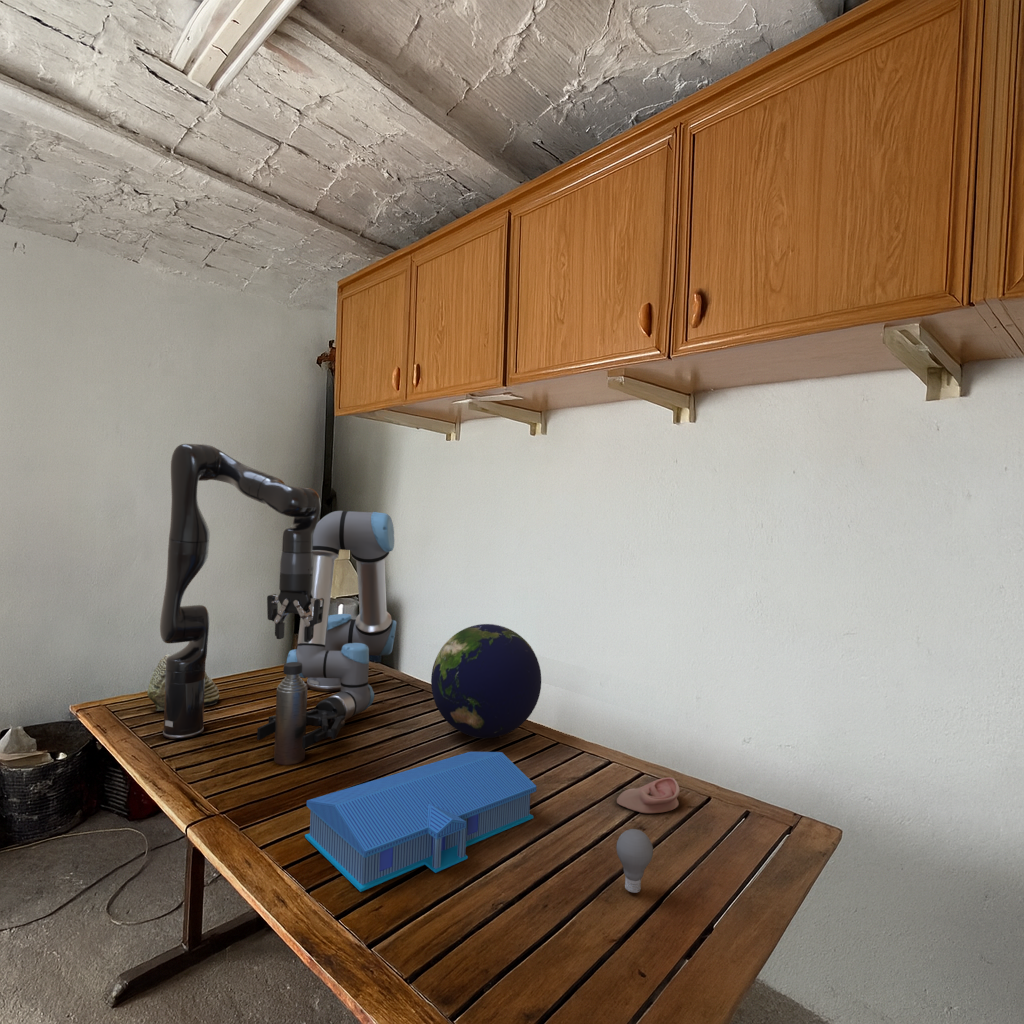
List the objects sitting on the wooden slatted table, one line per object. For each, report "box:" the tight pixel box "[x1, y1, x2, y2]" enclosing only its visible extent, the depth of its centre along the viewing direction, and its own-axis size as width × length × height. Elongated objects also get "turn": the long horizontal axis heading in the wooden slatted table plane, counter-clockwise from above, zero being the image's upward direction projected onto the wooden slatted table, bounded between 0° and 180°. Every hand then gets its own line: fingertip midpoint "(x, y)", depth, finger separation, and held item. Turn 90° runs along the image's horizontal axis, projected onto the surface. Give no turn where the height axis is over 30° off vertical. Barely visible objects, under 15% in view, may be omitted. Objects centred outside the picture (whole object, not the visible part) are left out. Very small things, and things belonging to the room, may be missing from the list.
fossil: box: [147, 654, 221, 712], centre depth 185 cm, size 9×18×15 cm, turn 132°
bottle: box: [273, 674, 308, 766], centre depth 152 cm, size 7×7×22 cm
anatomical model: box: [616, 776, 681, 814], centre depth 138 cm, size 13×4×12 cm
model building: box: [304, 751, 538, 893], centre depth 122 cm, size 39×24×10 cm, turn 132°
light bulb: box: [615, 828, 654, 894], centre depth 106 cm, size 6×6×10 cm
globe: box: [430, 623, 542, 739], centre depth 172 cm, size 30×30×30 cm
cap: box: [283, 662, 302, 676], centre depth 152 cm, size 4×4×2 cm
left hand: (294, 639), depth 151 cm, fingers open, 6 cm apart
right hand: (280, 738), depth 148 cm, fingers open, 12 cm apart
